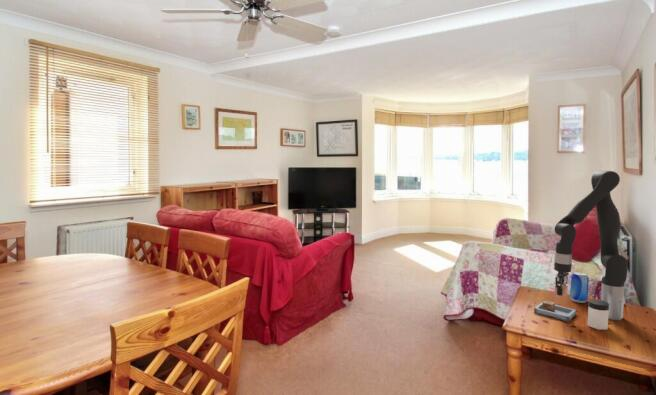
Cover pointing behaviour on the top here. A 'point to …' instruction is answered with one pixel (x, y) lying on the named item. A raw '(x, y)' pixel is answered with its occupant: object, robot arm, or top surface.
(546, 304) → the block walnut
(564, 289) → the block terracotta
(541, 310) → the tray
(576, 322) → the top surface
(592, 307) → the jar
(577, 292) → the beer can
